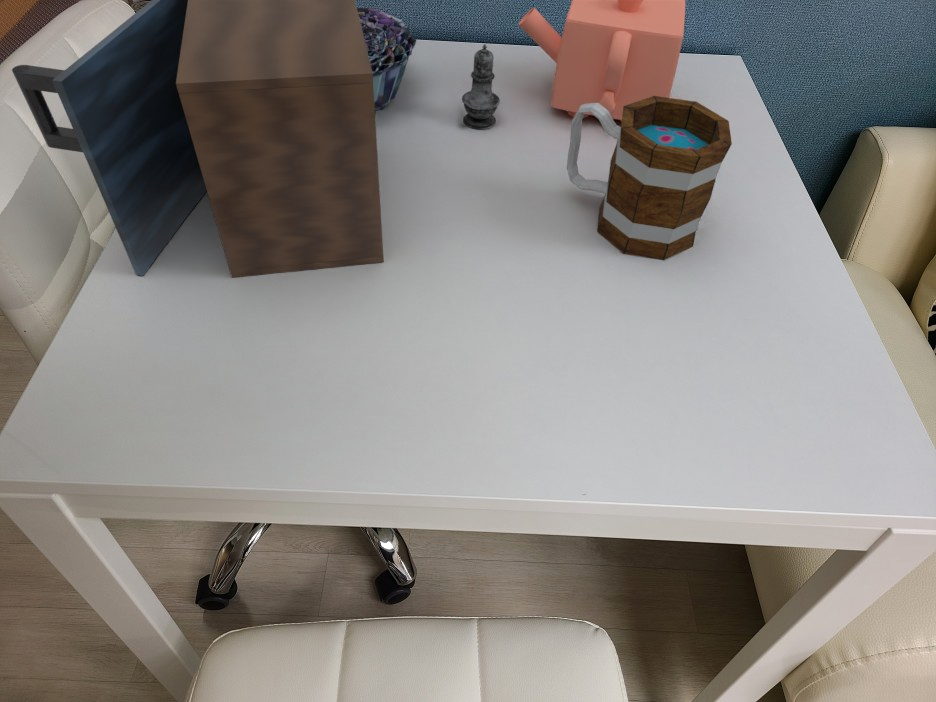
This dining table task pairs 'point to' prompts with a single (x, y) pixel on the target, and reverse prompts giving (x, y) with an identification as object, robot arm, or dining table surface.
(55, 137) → the cupboard door
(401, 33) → the decorative bowl
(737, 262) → the dining table surface
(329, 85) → the cupboard
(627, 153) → the mug
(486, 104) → the salt shaker
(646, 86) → the teapot
